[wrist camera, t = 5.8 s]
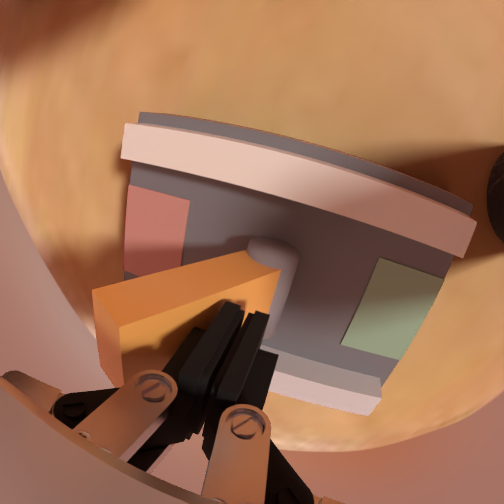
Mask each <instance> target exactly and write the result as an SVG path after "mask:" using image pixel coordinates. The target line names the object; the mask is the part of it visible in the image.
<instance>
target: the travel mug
mask: <svg viewBox="0 0 504 504" xmlns="http://www.w3.org/2000/svg"><path fill="white" fill-rule="evenodd" d="M487 207H488V214H489V218H490V221H491V224H492V227H493V229H494V231H495V233H496V234H497V236H498V237H499V238H500V239H501V240H502V242H503V243H504V153H503V154H502V155H501V156H500V158H499V159H498V160H497V162H496V164H495V166H494V168H493V170H492V172H491V176H490V179H489V184H488V191H487Z"/></svg>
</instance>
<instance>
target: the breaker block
mask: <svg viewBox="0 0 504 504" xmlns="http://www.w3.org/2000/svg"><path fill="white" fill-rule="evenodd" d="M121 158H122V159H127V160H132V168H131V176H130V184H129V186H128V196H127V209H126V223H125V242H124V270H125V271H124V281H126V280H130V279H134V278H138V277H142V276H146V275H150V274H154V273H157V272H161V271H165V270H169V269H173V268H177V267H181V266H185V265H188V264H192V263H196V262H200V261H204V260H208V259H212V258H216V257H220V256H224V255H227V254H231V253H235V252H239V251H243V250H247V248H248V244H249V241H250V240H251V239H253V238H256V237H269V238H274V239H278V240H281V241H284V242H287V243H289V244H291V245H292V246H294V247H295V248H297V249H298V250H299V252H300V254H301V256H300V259H299V263H298V266H297V269H296V272H295V275H294V278H293V281H292V285H291V288H290V291H289V294H288V297H287V300H286V303H285V306H284V309H283V312H282V315H281V318H280V321H279V324H278V327H277V330H276V332H275V334H274V335H273V336H272V337H271V338H269V339H265V340H262V343H261V346H260V349H262V350H265V351H268V352H271V353H275V354H278V355H279V356H278V360H277V363H276V367H275V370H274V374H273V377H272V380H271V384H270V387H269V390H268V391H271V392H274V393H278V394H281V395H284V396H288V397H291V398H295V399H298V400H302V401H306V402H309V403H313V404H317V405H321V406H325V407H329V408H333V409H338V410H342V411H347V412H351V413H356V414H361V415H366V416H369V415H370V413H371V412H372V411H373V409H374V408H375V407H376V406H377V404H378V403H379V402H380V400H381V399H382V393H381V387H382V386H383V384H384V383H385V381H386V380H387V378H388V377H389V375H390V374H391V372H392V371H393V369H394V368H395V366H396V365H397V363H398V362H399V360H401V358H402V357H403V355H404V353H405V352H406V350H407V349H408V347H409V345H410V344H411V342H412V340H413V339H414V337H415V335H416V333H417V332H418V330H419V328H420V326H421V325H422V323H423V321H424V319H425V317H426V316H427V314H428V312H429V310H430V308H431V306H432V304H433V302H434V300H435V298H436V296H437V295H438V292H439V290H440V288H441V286H442V284H443V282H444V278H445V276H446V274H447V272H448V269H449V267H450V265H451V263H452V260H453V258H454V256H458V257H460V258H463V257H464V255H465V252H466V250H467V248H468V245H469V243H470V240H471V238H472V235H473V233H474V230H475V227H476V225H477V222H476V221H475V220H473V219H472V218H470V215H471V212H472V209H473V206H474V205H473V204H472V203H470V202H468V201H466V200H464V199H462V198H460V197H458V196H457V195H455V194H453V193H451V192H449V191H446V190H444V189H442V188H439V187H437V186H435V185H432V184H430V183H427V182H425V181H422V180H420V179H418V178H415V177H412V176H410V175H407V174H405V173H402V172H399V171H397V170H394V169H391V168H389V167H386V166H383V165H380V164H377V163H374V162H372V161H369V160H366V159H363V158H360V157H357V156H353V155H350V154H347V153H344V152H341V151H337V150H334V149H331V148H327V147H324V146H321V145H317V144H313V143H310V142H306V141H302V140H299V139H295V138H291V137H287V136H283V135H279V134H275V133H271V132H266V131H262V130H257V129H253V128H248V127H243V126H238V125H233V124H228V123H223V122H218V121H212V120H206V119H200V118H194V117H188V116H181V115H174V114H164V113H151V112H140V114H139V119H138V123H125V129H124V136H123V143H122V151H121Z"/></svg>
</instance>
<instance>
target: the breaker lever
mask: <svg viewBox="0 0 504 504" xmlns="http://www.w3.org/2000/svg"><path fill="white" fill-rule="evenodd" d="M300 256H301V254H300V252H299V250H298V249H297V248H295V247H294V246H292V245H291V244H289V243H287V242H284V241H281V240H278V239H274V238H269V237H256V238H253V239H251V240H250V241H249V244H248V248H247V250H243V251H239V252H235V253H231V254H227V255H224V256H220V257H216V258H212V259H208V260H204V261H200V262H196V263H192V264H188V265H185V266H181V267H177V268H173V269H169V270H165V271H161V272H157V273H154V274H150V275H146V276H142V277H138V278H134V279H130V280H126V281H123V282H119V283H115V284H111V285H107V286H103V287H100V288H96V289H92V299H93V311H94V321H95V329H96V338H97V345H98V352H99V359H100V364H101V367H102V369H103V371H104V372H105V374H106V375H107V376H108V378H109V379H110V381H111V382H112V384H113V385H114V386H115V388H119V387H122V386H123V385H124V384H125V383H126V382H128V381H129V380H130V379H131V378H132V377H133V376H134V375H136V374H137V373H139V372H141V371H145V370H158V371H162V370H163V368H164V367H165V366H166V364H167V363H168V361H169V360H170V359H171V357H172V356H173V355H174V353H175V352H176V351H177V349H178V348H179V346H180V345H181V344H182V342H183V341H184V340H185V338H186V337H187V335H188V334H189V333H190V331H191V330H192V329H193V328H194V327H198V328H201V329H204V330H206V331H207V329H208V327H209V326H210V324H211V323H212V321H213V320H214V318H215V317H216V315H217V314H218V312H219V311H220V309H221V308H222V306H223V305H224V303H225V302H226V301H229V302H232V303H235V304H238V305H241V310H244V311H245V315H244V319H243V323H244V321H245V319H246V317H247V315H248V313H249V312H250V313H253V314H254V313H255V311H256V310H257V311H260V312H263V313H266V314H269V315H270V317H269V320H268V324H267V327H266V330H265V333H264V337H263V340H265V339H269V338H271V337H272V336H273V335H274V334H275V332H276V330H277V327H278V324H279V321H280V318H281V315H282V312H283V309H284V306H285V303H286V300H287V297H288V294H289V291H290V288H291V285H292V281H293V278H294V275H295V272H296V269H297V266H298V263H299V259H300ZM243 323H242V325H243Z"/></svg>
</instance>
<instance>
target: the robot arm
mask: <svg viewBox="0 0 504 504" xmlns="http://www.w3.org/2000/svg"><path fill="white" fill-rule="evenodd" d="M244 315H245V311H244V310H241V305H238V304H235V303H232V302H229V301H226V302H225V303H224V305H223V306H222V308H221V309H220V311H219V312H218V314H217V315H216V317H215V318H214V320H213V321H212V323H211V324H210V326H209V327H208V329H207V331H206V330H204V329H201V328H198V327H194V328H193V329H192V330H191V331H190V333H189V334H188V335H187V337H186V338H185V340H184V341H183V342H182V344H181V345H180V346H179V348H178V349H177V351H176V352H175V353H174V355H173V356H172V357H171V359H170V360H169V361H168V363H167V364H166V366H165V367H164V368H163V370H162V371H158V370H145V371H141V372H139V373H137V374H136V375H134V376H133V377H132V378H131V379H130V380H129V381H128V382H126V383H125V384H124V385H123V386H122V387H119V388H112V389H104V390H96V391H87V392H77V393H69V394H63V393H62V391H61V390H60V389H57V388H55V387H53V386H50V385H48V384H46V383H43V382H41V381H39V380H37V379H35V378H32V377H30V376H28V375H26V374H24V373H22V372H19V371H9V372H7V373H5V374H4V375H3V376H2V377H1V376H0V504H345V503H342V502H339V501H336V500H333V499H331V498H327V497H325V496H324V497H323V498H321V497H318V496H316V495H313V494H312V493H311V491H310V489H309V488H308V487H307V486H306V484H305V483H304V482H303V481H302V480H301V478H300V477H299V476H298V475H297V473H296V472H295V471H294V469H293V468H292V467H291V465H290V464H289V463H288V462H287V460H286V459H285V458H284V456H283V455H282V454H281V453H280V451H279V450H278V448H277V447H276V446H275V444H274V443H273V442H272V440H271V439H270V436H271V423H270V420H269V418H268V416H267V415H266V414H265V413H264V412H263V411H262V410H263V406H264V403H265V400H266V397H267V393H268V390H269V387H270V384H271V380H272V377H273V374H274V370H275V367H276V363H277V360H278V356H279V355H278V354H275V353H271V352H268V351H265V350H262V349H260V346H261V343H262V340H263V337H264V333H265V330H266V327H267V324H268V320H269V317H270V315H269V314H266V313H263V312H260V311H257V310H256V311H255V313H254V314H253V313H250V312H249V313H248V315H247V317H246V319H245V321H244V323H243V319H244ZM242 323H243V325H242ZM204 422H205V423H204ZM203 424H204V428H203V434H202V436H203V437H204V440H203V445H202V450H203V451H204V453H205V455H206V457H207V459H208V460H209V462H208V467H207V471H206V475H205V479H204V483H203V488H202V492H201V495H198V494H195V493H193V492H190V491H187V490H185V489H182V488H180V487H178V486H175V485H172V484H170V483H168V482H166V481H164V480H161V479H159V478H157V477H155V476H152V475H150V474H151V472H153V470H154V469H155V468H156V467H157V466H158V464H159V463H160V462H161V461H162V460H163V459H164V457H165V456H166V455H167V454H168V452H169V451H170V450H171V449H172V447H173V445H174V444H175V443H179V442H183V441H184V440H185V438H186V439H188V440H189V439H190V438H191V436H192V434H193V433H195V434H199V432H200V430H201V428H202V426H203Z"/></svg>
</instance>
